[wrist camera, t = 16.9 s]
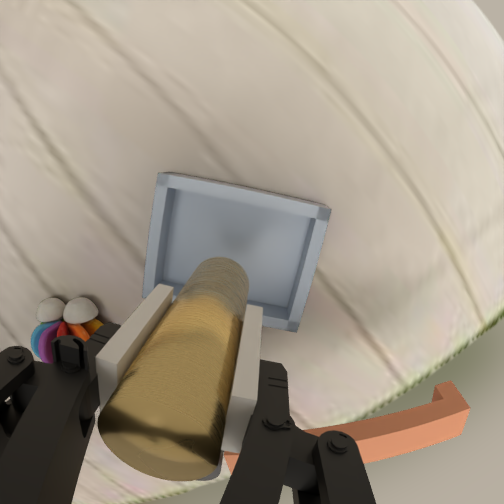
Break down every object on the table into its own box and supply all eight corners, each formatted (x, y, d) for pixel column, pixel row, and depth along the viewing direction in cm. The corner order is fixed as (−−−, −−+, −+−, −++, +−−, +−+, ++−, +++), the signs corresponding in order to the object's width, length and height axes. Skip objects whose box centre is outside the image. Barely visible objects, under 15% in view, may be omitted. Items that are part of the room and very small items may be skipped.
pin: (188, 303, 20) (103, 459, 8) (196, 250, 19) (92, 383, 7) (243, 316, 20) (210, 490, 8) (254, 263, 19) (229, 423, 7)
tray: (153, 284, 31) (142, 297, 27) (169, 171, 28) (158, 173, 24) (294, 316, 31) (296, 332, 28) (324, 204, 28) (331, 209, 25)
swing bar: (443, 409, 17) (459, 437, 14) (186, 447, 18) (177, 479, 15) (451, 376, 16) (471, 404, 13) (173, 417, 18) (161, 450, 15)
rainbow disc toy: (124, 360, 33) (98, 398, 26) (61, 354, 34) (31, 386, 27) (106, 292, 31) (71, 323, 24) (41, 293, 32) (4, 318, 25)
